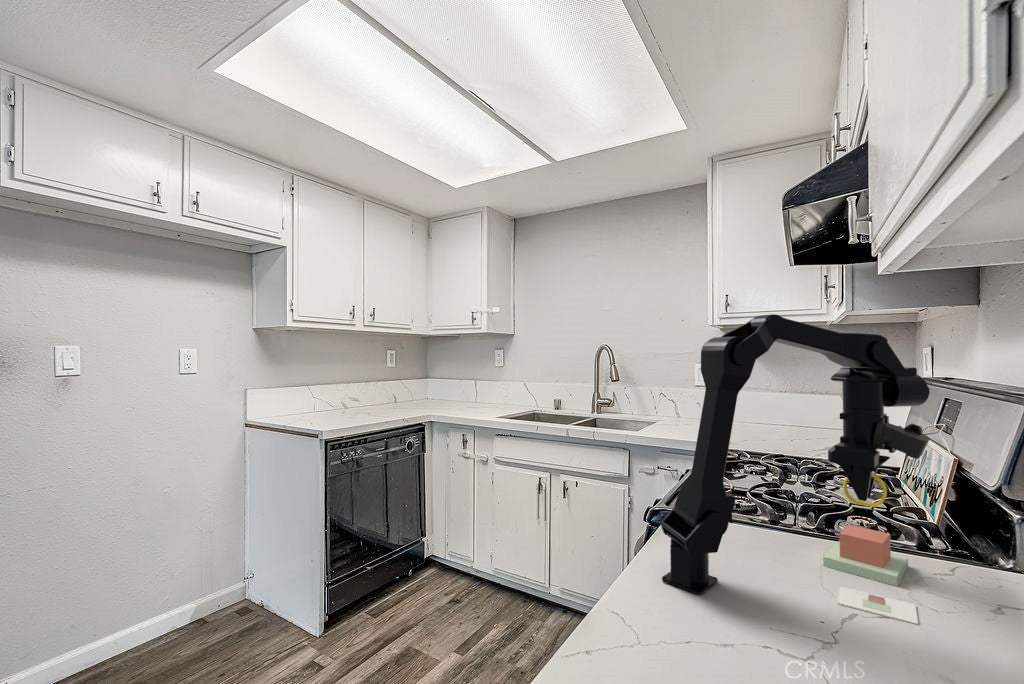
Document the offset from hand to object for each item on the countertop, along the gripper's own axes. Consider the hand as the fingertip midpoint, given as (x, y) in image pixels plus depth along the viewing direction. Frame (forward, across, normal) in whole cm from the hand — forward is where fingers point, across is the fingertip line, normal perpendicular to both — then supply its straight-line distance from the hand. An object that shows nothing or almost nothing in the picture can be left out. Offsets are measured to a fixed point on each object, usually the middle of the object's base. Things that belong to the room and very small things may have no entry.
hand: (864, 498), depth 83 cm
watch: (+1, 0, 0) cm, 1 cm away
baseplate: (+12, 0, 0) cm, 12 cm away
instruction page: (+11, -14, -4) cm, 18 cm away
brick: (+10, 0, 0) cm, 10 cm away
